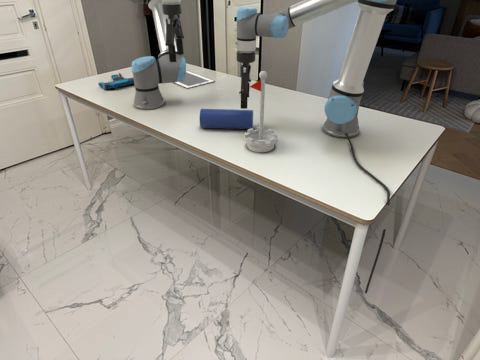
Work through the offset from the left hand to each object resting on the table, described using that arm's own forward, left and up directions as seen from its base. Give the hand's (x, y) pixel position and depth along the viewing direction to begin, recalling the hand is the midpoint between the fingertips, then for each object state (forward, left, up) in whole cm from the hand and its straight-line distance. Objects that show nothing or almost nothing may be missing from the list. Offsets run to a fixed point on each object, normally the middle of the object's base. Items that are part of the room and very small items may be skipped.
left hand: (177, 57), depth 148 cm
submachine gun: (-69, +15, -28) cm, 76 cm away
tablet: (-45, +42, -28) cm, 68 cm away
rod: (+24, +5, -28) cm, 37 cm away
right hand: (+31, +10, -16) cm, 36 cm away
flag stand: (+47, +1, -28) cm, 55 cm away
